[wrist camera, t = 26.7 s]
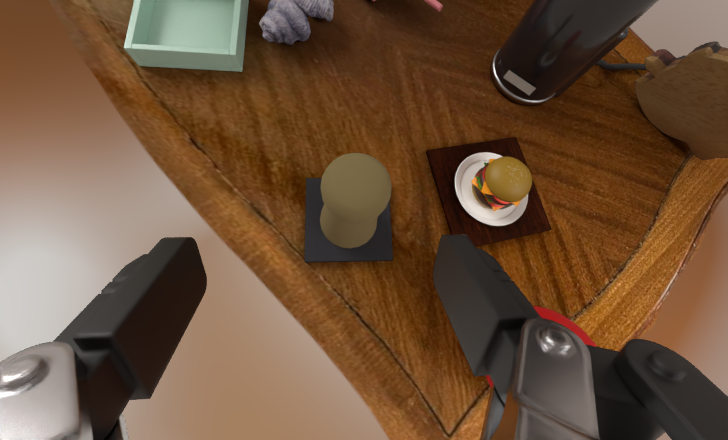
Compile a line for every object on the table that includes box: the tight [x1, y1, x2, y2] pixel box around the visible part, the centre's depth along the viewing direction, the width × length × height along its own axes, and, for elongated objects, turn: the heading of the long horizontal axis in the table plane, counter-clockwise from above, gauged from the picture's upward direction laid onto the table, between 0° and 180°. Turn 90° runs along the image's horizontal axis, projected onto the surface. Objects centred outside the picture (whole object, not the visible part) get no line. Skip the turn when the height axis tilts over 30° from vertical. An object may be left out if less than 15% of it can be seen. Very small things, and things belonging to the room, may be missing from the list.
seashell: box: [259, 0, 334, 45], centre depth 34 cm, size 5×5×10 cm
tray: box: [124, 0, 249, 72], centre depth 33 cm, size 11×11×2 cm
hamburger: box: [426, 137, 551, 247], centre depth 30 cm, size 12×12×6 cm
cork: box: [320, 153, 392, 248], centre depth 24 cm, size 6×6×11 cm
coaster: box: [305, 178, 393, 262], centre depth 30 cm, size 9×9×1 cm
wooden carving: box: [635, 42, 728, 160], centre depth 34 cm, size 16×5×10 cm, turn 43°
